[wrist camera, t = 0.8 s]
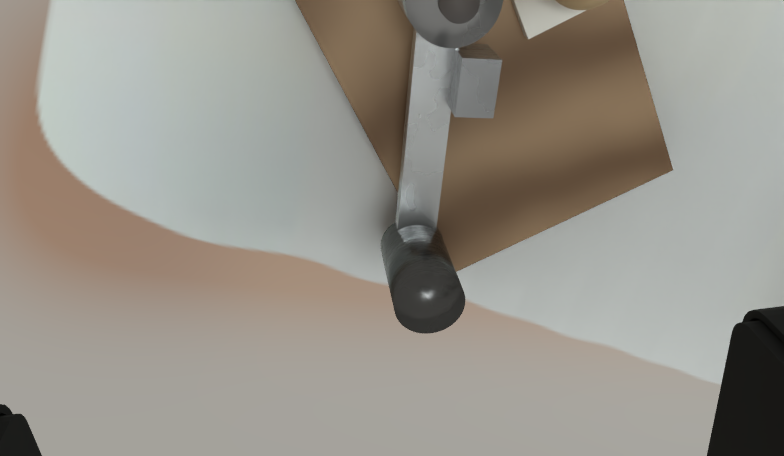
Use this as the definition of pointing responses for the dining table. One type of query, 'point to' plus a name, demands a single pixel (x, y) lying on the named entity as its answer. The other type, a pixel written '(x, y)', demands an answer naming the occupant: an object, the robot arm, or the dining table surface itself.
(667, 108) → the dining table surface
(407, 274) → the lever
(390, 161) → the board
